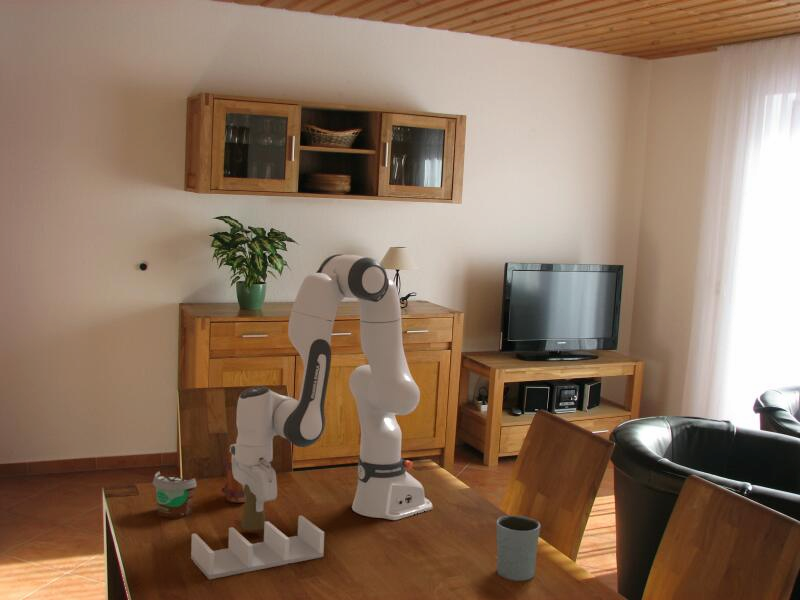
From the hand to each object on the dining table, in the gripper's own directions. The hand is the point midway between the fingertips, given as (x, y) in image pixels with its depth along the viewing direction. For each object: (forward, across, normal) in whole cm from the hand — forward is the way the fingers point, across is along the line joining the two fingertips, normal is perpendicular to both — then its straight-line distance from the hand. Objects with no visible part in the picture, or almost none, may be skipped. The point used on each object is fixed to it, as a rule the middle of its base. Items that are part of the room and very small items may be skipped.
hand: (254, 506), depth 218 cm
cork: (+5, 0, 0) cm, 5 cm away
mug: (+7, +26, -7) cm, 28 cm away
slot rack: (+7, -14, +5) cm, 16 cm away
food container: (+7, +21, +15) cm, 27 cm away
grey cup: (+8, -47, -45) cm, 66 cm away
